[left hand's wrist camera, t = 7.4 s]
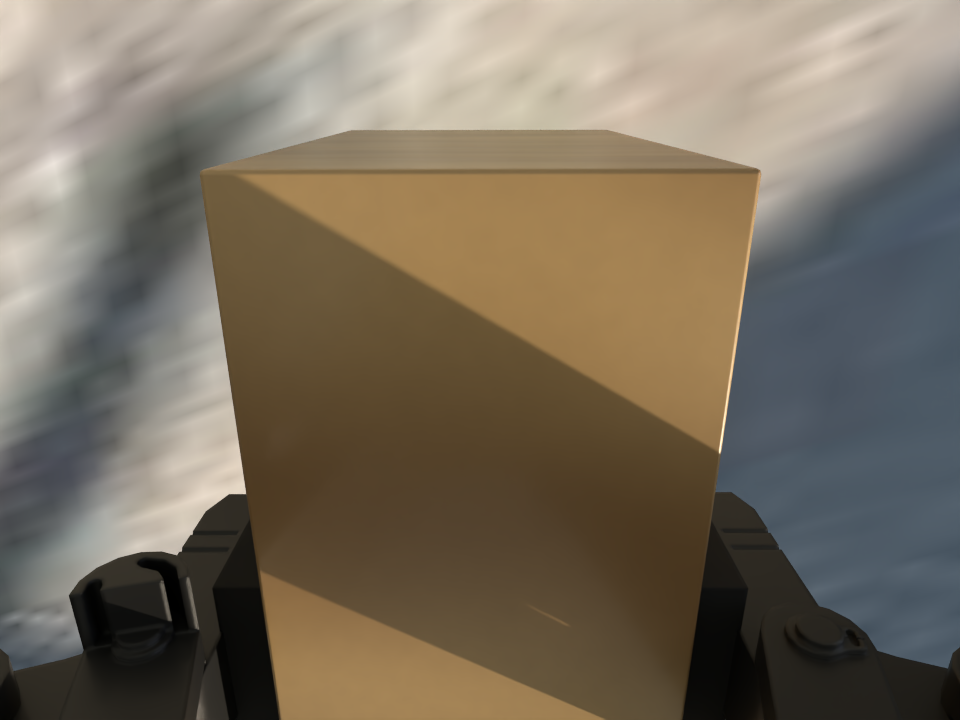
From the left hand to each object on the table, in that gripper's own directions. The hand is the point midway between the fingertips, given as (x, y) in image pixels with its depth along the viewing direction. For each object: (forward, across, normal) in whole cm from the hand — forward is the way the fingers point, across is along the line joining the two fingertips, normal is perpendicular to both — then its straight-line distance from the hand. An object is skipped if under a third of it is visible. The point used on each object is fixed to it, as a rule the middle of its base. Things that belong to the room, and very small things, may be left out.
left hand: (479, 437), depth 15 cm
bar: (+1, 0, -22) cm, 22 cm away
